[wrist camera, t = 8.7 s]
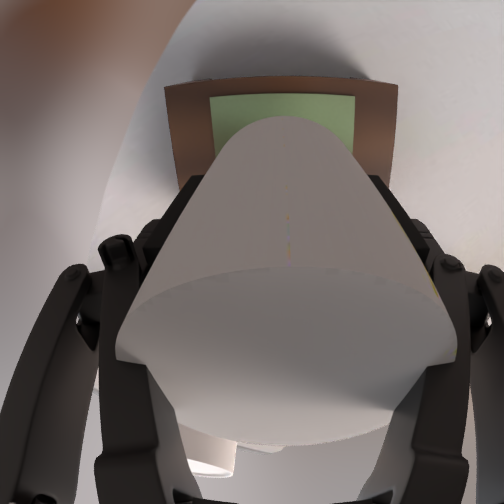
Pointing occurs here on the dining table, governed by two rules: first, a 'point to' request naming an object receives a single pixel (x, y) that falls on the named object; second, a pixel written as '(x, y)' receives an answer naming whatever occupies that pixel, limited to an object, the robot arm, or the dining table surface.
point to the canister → (208, 453)
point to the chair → (281, 104)
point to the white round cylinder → (286, 297)
